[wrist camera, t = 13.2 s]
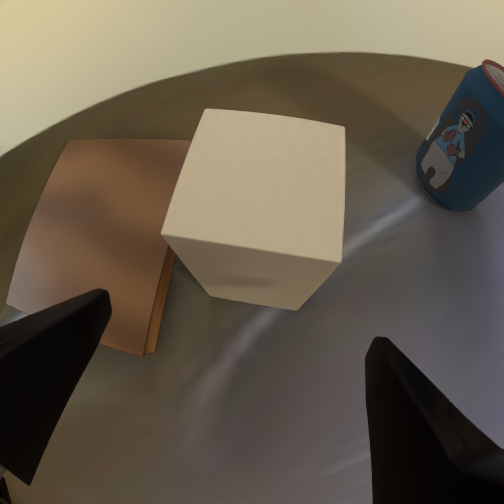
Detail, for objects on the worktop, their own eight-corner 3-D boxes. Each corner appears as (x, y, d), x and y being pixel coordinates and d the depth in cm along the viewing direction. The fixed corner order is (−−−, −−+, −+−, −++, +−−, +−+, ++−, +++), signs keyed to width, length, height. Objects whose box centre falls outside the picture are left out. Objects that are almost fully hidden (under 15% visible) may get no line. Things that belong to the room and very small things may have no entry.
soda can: (478, 185, 21) (549, 108, 10) (459, 234, 19) (556, 153, 8) (424, 138, 22) (480, 45, 11) (398, 179, 21) (469, 67, 10)
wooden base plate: (156, 357, 17) (142, 357, 14) (25, 309, 18) (5, 303, 15) (206, 162, 21) (201, 141, 19) (80, 156, 22) (68, 140, 20)
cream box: (297, 311, 18) (341, 263, 8) (209, 296, 18) (159, 233, 9) (307, 229, 19) (345, 126, 10) (226, 217, 20) (204, 107, 10)
